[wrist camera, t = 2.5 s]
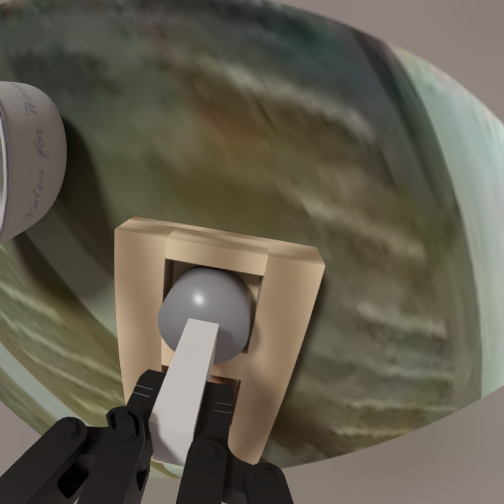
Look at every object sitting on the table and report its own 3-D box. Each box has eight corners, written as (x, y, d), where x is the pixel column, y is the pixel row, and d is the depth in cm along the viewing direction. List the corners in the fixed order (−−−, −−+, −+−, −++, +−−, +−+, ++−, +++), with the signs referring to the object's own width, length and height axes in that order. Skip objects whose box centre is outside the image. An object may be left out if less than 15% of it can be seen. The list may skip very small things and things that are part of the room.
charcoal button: (170, 326, 20) (157, 354, 17) (174, 257, 18) (158, 279, 15) (244, 340, 20) (241, 370, 17) (258, 272, 18) (256, 296, 15)
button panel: (142, 435, 28) (135, 456, 25) (134, 216, 19) (114, 228, 16) (252, 456, 28) (251, 478, 25) (316, 247, 20) (325, 265, 17)
